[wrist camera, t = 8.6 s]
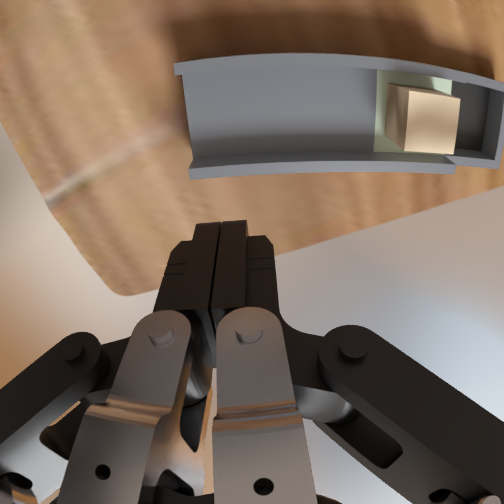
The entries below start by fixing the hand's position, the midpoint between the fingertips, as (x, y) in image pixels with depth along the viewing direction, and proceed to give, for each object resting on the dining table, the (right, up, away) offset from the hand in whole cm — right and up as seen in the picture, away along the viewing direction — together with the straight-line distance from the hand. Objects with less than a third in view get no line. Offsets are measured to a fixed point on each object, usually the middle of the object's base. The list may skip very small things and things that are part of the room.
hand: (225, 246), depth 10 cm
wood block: (+15, +13, +15) cm, 25 cm away
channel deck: (+12, +14, +17) cm, 25 cm away
